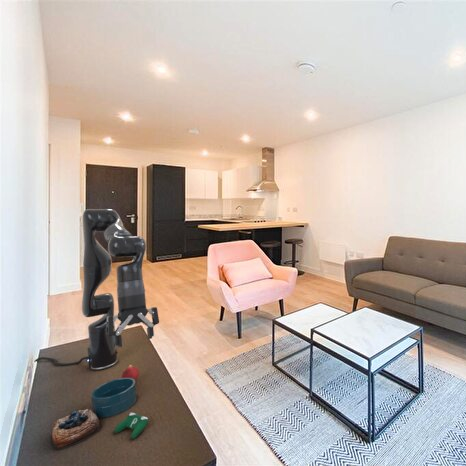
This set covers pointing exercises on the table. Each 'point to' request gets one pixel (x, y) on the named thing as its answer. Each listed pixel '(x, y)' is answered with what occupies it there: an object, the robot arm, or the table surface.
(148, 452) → the table surface
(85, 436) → the pastry
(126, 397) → the pot
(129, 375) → the onion
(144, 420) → the gaming controller
